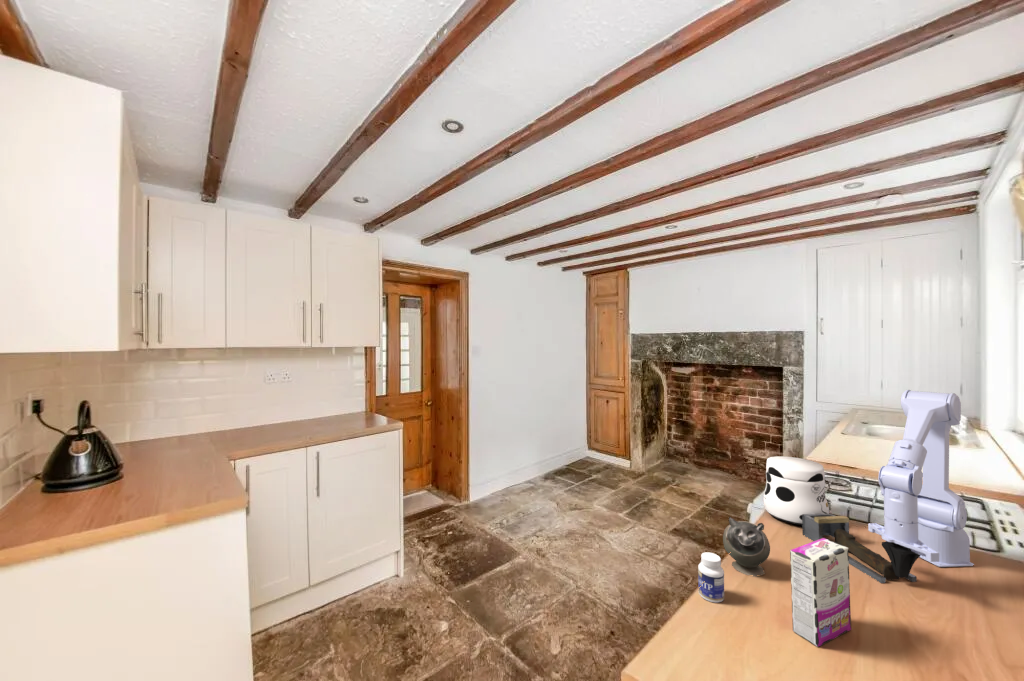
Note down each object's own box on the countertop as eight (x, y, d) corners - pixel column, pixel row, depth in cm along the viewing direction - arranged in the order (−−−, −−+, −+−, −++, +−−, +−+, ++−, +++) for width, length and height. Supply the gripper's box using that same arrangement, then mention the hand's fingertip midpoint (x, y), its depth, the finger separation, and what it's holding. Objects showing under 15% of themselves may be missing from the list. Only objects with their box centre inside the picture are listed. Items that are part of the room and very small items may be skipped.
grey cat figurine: (731, 578, 97) (778, 582, 95) (729, 529, 98) (776, 531, 95) (719, 556, 107) (761, 559, 105) (717, 512, 107) (759, 513, 105)
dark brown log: (903, 582, 95) (903, 562, 95) (884, 581, 95) (884, 561, 95) (845, 542, 114) (845, 526, 114) (830, 542, 114) (830, 525, 114)
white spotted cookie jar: (844, 531, 120) (843, 471, 121) (786, 531, 121) (785, 471, 121) (803, 507, 138) (802, 455, 138) (752, 507, 138) (751, 455, 138)
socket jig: (831, 533, 119) (831, 509, 119) (916, 581, 95) (916, 551, 95) (802, 534, 118) (802, 510, 118) (880, 583, 94) (880, 552, 95)
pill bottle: (693, 592, 92) (692, 553, 92) (709, 586, 94) (709, 548, 94) (713, 606, 87) (712, 565, 87) (729, 599, 89) (729, 559, 89)
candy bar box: (823, 615, 84) (822, 536, 84) (852, 630, 79) (850, 547, 79) (789, 631, 79) (788, 548, 79) (817, 648, 75) (816, 560, 75)
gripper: (856, 506, 101) (857, 560, 101) (917, 533, 87) (918, 596, 87) (882, 505, 101) (883, 558, 101) (948, 532, 87) (949, 594, 87)
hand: (901, 576), depth 94 cm, fingers closed
